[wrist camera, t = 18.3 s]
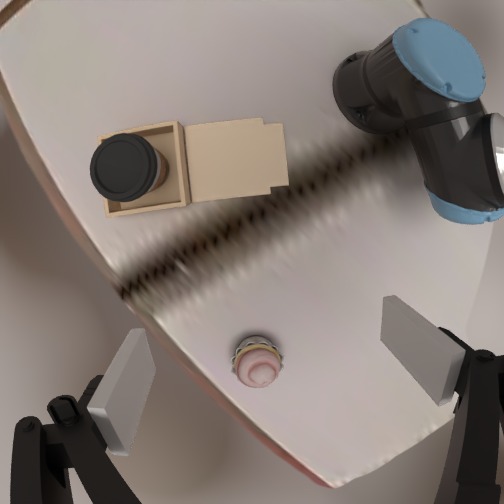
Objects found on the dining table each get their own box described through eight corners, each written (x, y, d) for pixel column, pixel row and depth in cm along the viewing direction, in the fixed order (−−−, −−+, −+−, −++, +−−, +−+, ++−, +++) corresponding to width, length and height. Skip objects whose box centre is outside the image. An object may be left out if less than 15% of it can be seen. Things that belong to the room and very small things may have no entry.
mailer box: (281, 117, 46) (288, 109, 40) (288, 191, 49) (296, 193, 43) (111, 140, 44) (97, 136, 39) (119, 213, 47) (106, 217, 41)
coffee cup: (167, 202, 47) (141, 212, 32) (120, 189, 46) (78, 194, 31) (182, 151, 45) (162, 139, 31) (134, 139, 44) (97, 124, 30)
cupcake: (224, 366, 55) (225, 400, 45) (235, 323, 53) (237, 353, 43) (273, 373, 56) (280, 407, 47) (286, 332, 54) (297, 362, 45)
